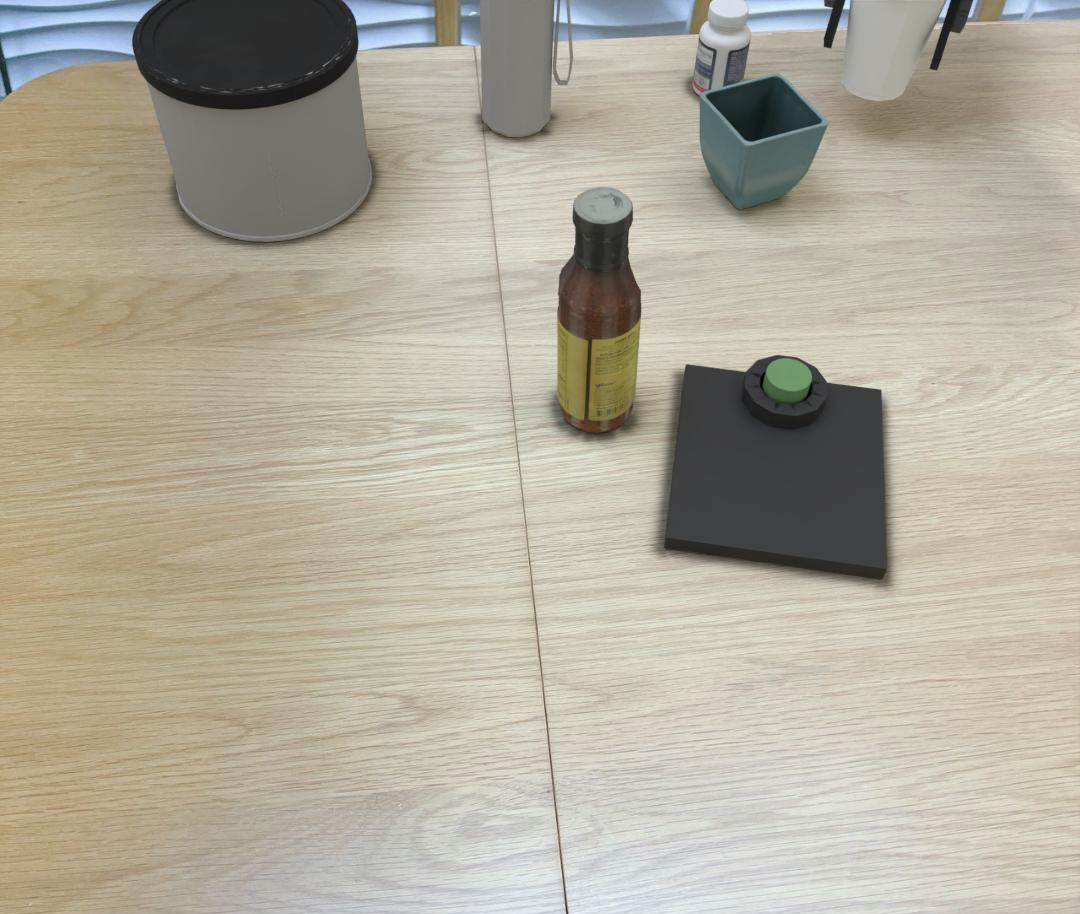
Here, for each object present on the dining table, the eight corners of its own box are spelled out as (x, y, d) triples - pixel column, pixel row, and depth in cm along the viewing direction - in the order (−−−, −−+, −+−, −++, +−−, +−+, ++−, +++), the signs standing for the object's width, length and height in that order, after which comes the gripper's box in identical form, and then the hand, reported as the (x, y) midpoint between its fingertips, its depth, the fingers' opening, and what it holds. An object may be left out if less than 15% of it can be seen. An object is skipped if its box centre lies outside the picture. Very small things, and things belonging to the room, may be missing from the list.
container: (237, 271, 98) (198, 120, 85) (140, 167, 106) (93, 16, 94) (412, 192, 105) (399, 43, 92) (308, 101, 113) (284, -47, 101)
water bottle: (471, 137, 110) (463, -132, 90) (490, 94, 115) (487, -172, 94) (560, 151, 109) (572, -118, 89) (576, 107, 114) (591, -158, 93)
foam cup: (901, 54, 112) (941, -79, 101) (936, 105, 107) (982, -30, 96) (813, 61, 111) (844, -73, 100) (843, 113, 106) (879, -23, 95)
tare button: (808, 375, 88) (812, 361, 87) (807, 407, 86) (811, 393, 85) (763, 369, 88) (767, 355, 87) (761, 401, 86) (765, 387, 85)
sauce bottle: (641, 390, 90) (669, 186, 74) (621, 445, 87) (646, 243, 70) (565, 372, 91) (576, 167, 75) (542, 425, 88) (549, 222, 72)
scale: (876, 394, 90) (886, 368, 88) (882, 579, 80) (894, 556, 77) (684, 369, 92) (688, 343, 89) (663, 548, 81) (668, 524, 78)
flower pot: (729, 228, 103) (746, 144, 95) (684, 175, 107) (697, 91, 100) (809, 206, 105) (831, 122, 98) (761, 155, 110) (779, 71, 102)
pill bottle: (743, 77, 118) (758, -4, 110) (739, 105, 114) (755, 23, 107) (693, 72, 118) (705, -10, 111) (689, 99, 115) (701, 17, 108)
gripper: (1073, -158, 101) (992, 90, 105) (836, -197, 105) (767, 43, 109) (1094, -202, 94) (1007, 66, 97) (838, -242, 98) (764, 16, 102)
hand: (880, 54), depth 103 cm, fingers closed on foam cup, 9 cm apart
